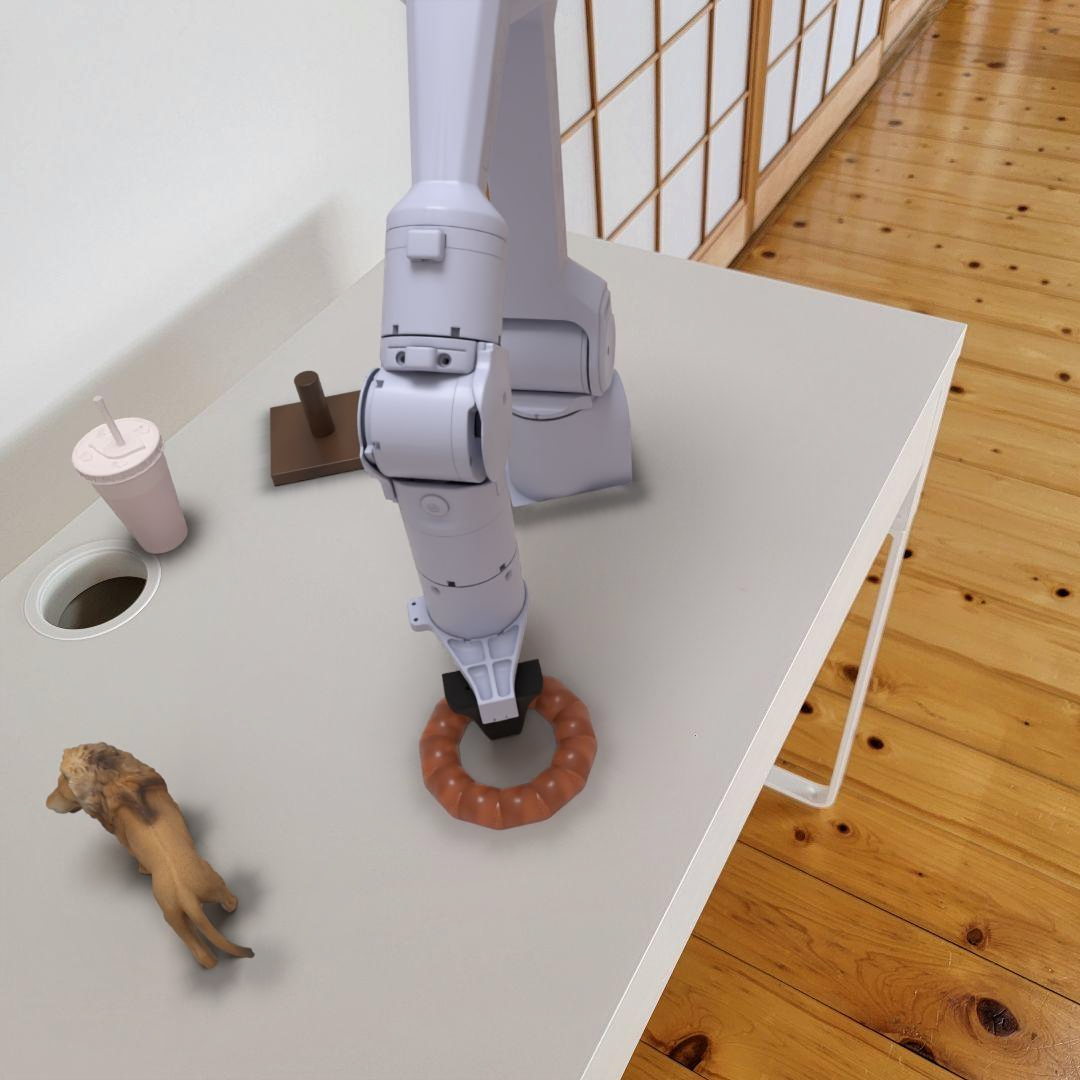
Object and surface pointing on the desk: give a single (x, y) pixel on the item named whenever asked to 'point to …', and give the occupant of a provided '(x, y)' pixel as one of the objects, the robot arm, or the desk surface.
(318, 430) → the peg stand
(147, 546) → the smoothie
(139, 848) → the lion figurine
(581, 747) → the ring
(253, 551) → the desk surface
